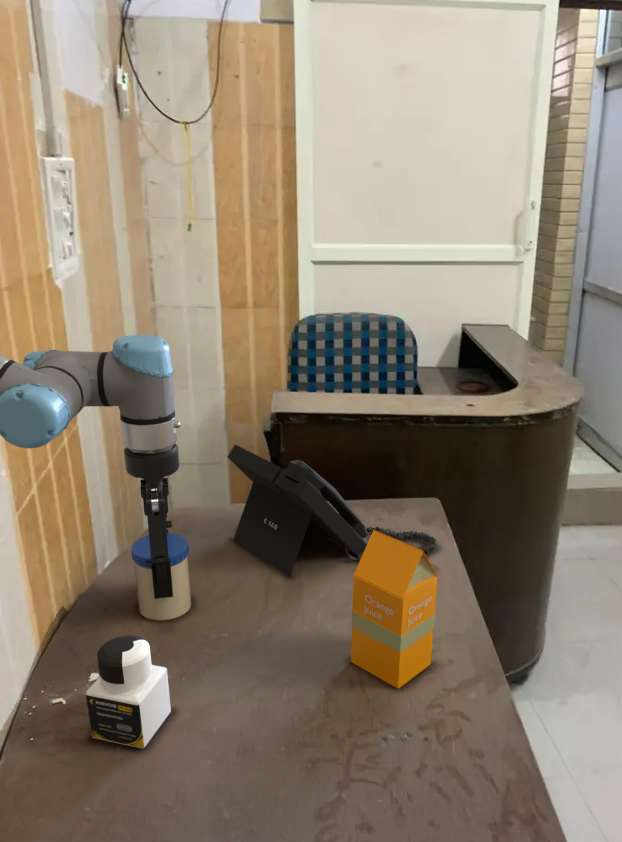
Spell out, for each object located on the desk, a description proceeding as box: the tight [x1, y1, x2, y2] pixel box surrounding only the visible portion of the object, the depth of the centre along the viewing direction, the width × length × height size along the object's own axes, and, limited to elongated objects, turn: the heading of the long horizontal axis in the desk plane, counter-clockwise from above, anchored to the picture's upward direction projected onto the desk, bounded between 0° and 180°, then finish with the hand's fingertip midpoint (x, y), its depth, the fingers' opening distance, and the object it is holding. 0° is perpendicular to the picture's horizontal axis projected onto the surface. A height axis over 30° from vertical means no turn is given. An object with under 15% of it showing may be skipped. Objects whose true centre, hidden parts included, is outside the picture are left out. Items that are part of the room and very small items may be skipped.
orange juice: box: [350, 529, 439, 689], centre depth 105 cm, size 8×9×20 cm
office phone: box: [227, 444, 437, 578], centre depth 137 cm, size 29×28×20 cm
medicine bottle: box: [85, 635, 172, 749], centre depth 93 cm, size 7×7×12 cm
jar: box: [133, 555, 192, 621], centre depth 118 cm, size 8×8×10 cm
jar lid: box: [130, 532, 190, 568], centre depth 116 cm, size 8×8×2 cm
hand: (163, 581), depth 118 cm, fingers closed on jar lid, 8 cm apart
